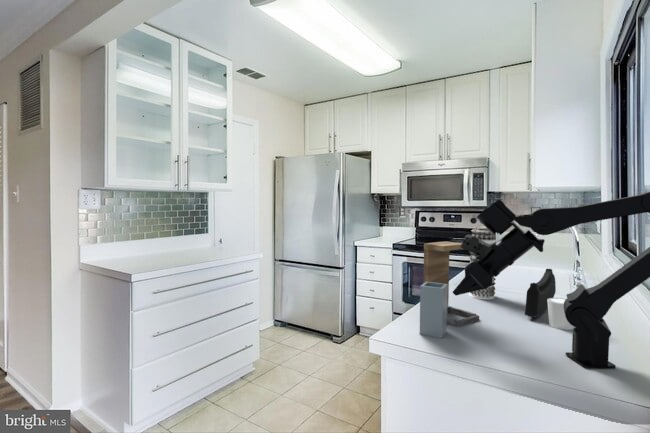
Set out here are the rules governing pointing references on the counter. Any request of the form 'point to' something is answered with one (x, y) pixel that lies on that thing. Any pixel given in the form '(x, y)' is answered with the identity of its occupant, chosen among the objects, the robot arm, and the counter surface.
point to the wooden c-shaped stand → (443, 275)
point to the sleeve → (433, 309)
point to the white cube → (557, 314)
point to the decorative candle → (489, 239)
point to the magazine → (540, 294)
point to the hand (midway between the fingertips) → (457, 289)
